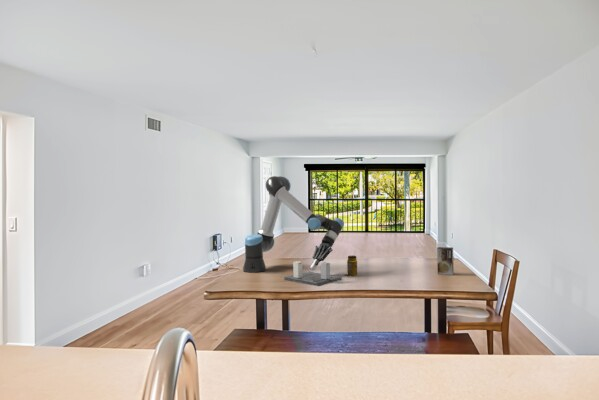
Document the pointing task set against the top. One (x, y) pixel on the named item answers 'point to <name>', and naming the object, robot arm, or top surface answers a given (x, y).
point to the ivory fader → (297, 269)
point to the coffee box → (445, 260)
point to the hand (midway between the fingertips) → (312, 268)
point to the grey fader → (325, 270)
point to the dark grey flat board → (312, 279)
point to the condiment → (351, 267)
